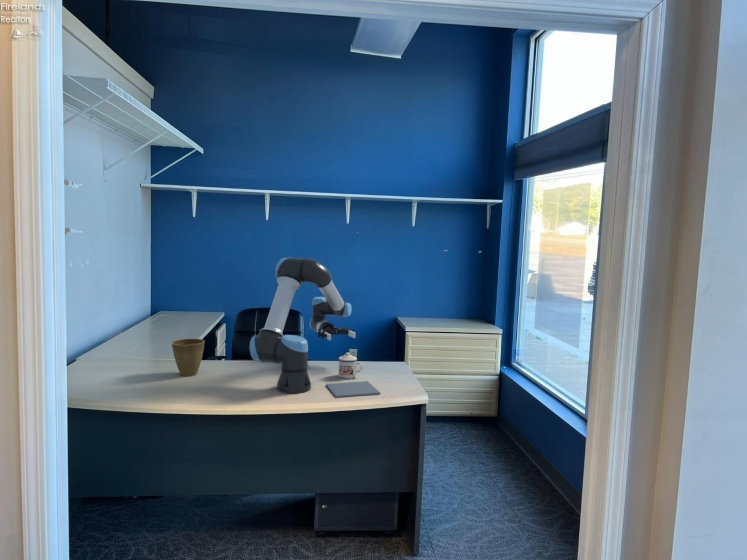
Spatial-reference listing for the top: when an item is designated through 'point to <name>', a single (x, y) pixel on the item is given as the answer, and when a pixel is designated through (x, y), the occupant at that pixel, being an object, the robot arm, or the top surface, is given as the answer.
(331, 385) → the charcoal mat
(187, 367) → the plant pot
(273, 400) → the top surface
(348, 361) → the teacup with lid
